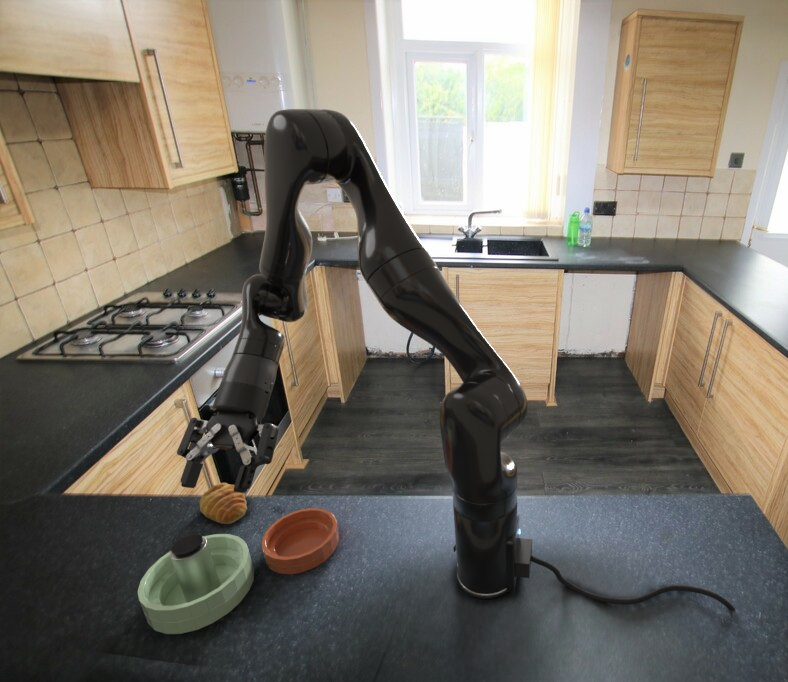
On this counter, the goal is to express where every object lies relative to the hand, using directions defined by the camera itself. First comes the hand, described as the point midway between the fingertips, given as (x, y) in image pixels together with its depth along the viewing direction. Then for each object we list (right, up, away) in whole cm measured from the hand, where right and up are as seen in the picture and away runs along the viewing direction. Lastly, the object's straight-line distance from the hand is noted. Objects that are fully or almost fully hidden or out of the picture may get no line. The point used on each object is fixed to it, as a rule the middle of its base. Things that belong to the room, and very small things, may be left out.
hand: (213, 489), depth 71 cm
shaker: (-1, -15, -1) cm, 15 cm away
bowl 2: (+10, -12, +7) cm, 17 cm away
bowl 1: (-1, -15, -1) cm, 15 cm away
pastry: (-8, -9, +16) cm, 20 cm away
